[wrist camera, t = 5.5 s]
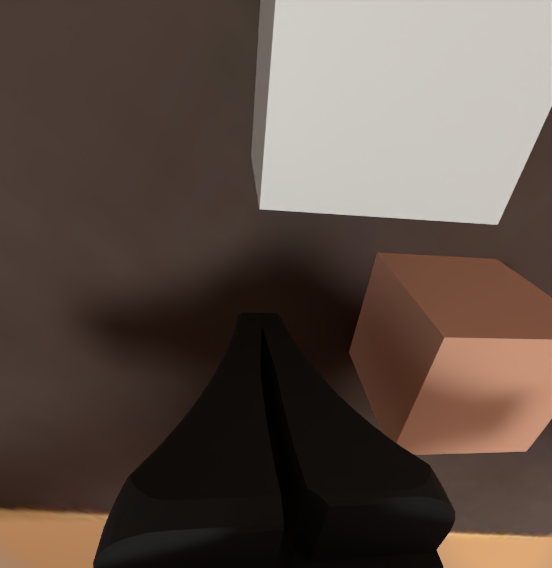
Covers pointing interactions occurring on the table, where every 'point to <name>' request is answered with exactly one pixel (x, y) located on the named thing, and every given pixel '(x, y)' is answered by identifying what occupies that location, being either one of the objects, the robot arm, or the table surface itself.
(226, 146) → the table surface
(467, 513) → the table surface
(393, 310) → the terracotta block
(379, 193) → the light grey block
